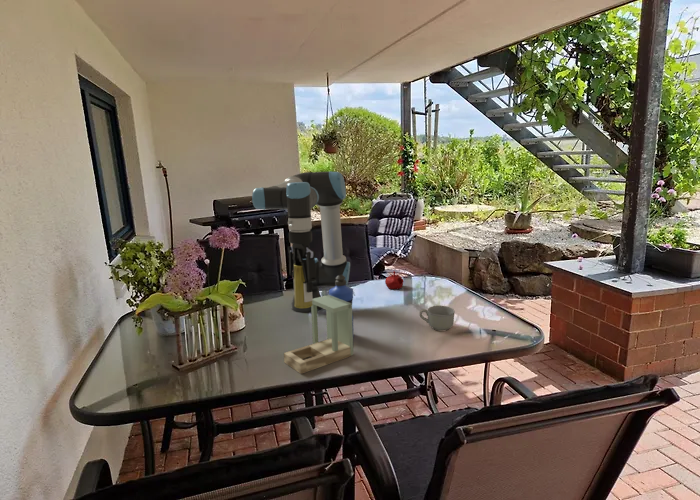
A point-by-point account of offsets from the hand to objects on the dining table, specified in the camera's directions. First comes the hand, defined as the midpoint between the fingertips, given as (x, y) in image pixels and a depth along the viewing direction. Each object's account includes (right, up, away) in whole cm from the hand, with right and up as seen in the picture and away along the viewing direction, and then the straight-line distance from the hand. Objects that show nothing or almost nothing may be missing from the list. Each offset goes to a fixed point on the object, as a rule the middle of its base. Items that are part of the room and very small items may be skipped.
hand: (303, 298), depth 146 cm
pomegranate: (+40, -5, +92) cm, 100 cm away
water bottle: (+12, -18, +27) cm, 35 cm away
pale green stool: (+9, -21, +13) cm, 26 cm away
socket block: (+4, -22, +7) cm, 23 cm away
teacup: (+51, -16, +33) cm, 63 cm away
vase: (0, -3, +1) cm, 3 cm away
